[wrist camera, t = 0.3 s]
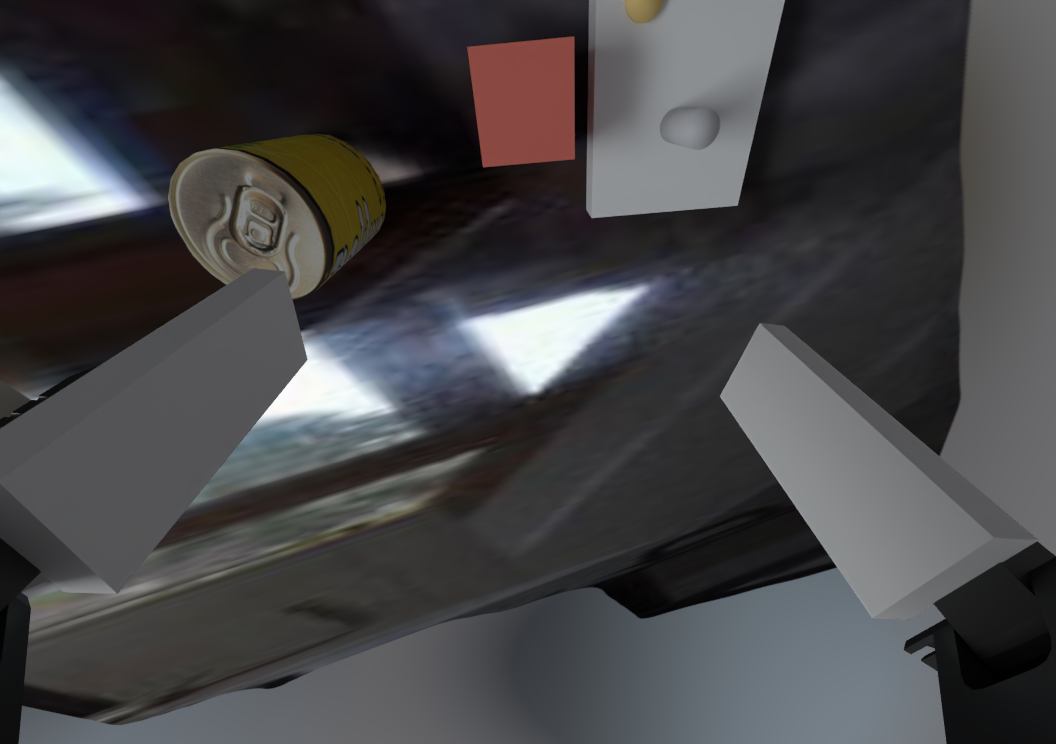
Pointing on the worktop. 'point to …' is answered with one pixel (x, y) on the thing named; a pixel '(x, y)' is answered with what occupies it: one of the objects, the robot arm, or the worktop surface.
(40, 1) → the worktop surface
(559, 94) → the red rectangular block
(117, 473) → the robot arm
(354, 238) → the beverage can
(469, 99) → the worktop surface
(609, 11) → the panel
